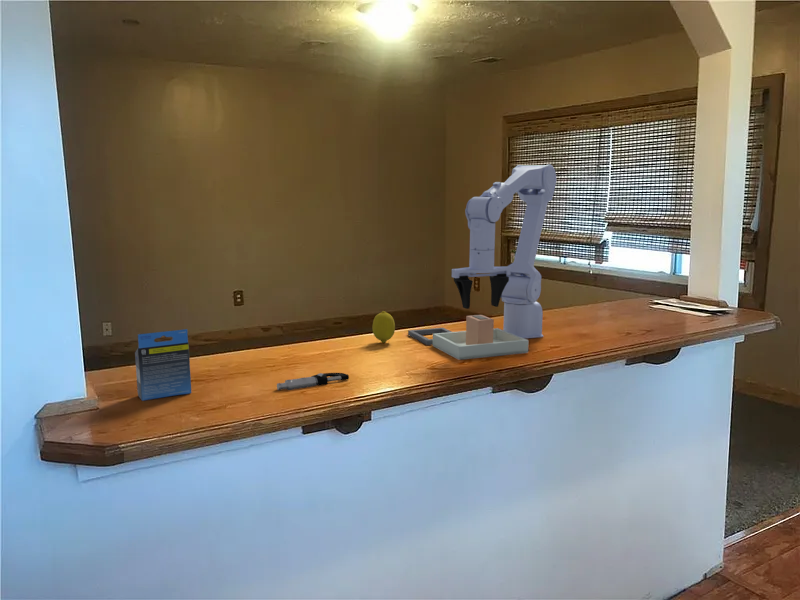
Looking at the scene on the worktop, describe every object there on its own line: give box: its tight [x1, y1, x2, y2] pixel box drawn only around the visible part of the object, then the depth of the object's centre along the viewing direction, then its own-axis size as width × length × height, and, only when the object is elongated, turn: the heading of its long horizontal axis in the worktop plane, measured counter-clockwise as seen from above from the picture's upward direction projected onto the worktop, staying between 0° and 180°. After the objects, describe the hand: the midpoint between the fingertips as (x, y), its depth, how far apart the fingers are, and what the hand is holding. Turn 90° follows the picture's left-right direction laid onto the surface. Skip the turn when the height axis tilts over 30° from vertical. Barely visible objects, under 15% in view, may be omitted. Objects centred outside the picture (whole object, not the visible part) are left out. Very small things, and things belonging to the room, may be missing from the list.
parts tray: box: [432, 327, 529, 361], centre depth 157 cm, size 18×14×3 cm
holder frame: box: [407, 327, 453, 346], centre depth 169 cm, size 10×12×1 cm
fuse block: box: [465, 314, 495, 345], centre depth 157 cm, size 4×6×7 cm, turn 22°
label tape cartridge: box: [134, 328, 192, 402], centre depth 121 cm, size 9×4×12 cm, turn 121°
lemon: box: [371, 310, 396, 344], centre depth 163 cm, size 6×6×8 cm
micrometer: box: [276, 372, 350, 391], centre depth 131 cm, size 15×7×2 cm, turn 119°
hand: (480, 307), depth 156 cm, fingers open, 7 cm apart
